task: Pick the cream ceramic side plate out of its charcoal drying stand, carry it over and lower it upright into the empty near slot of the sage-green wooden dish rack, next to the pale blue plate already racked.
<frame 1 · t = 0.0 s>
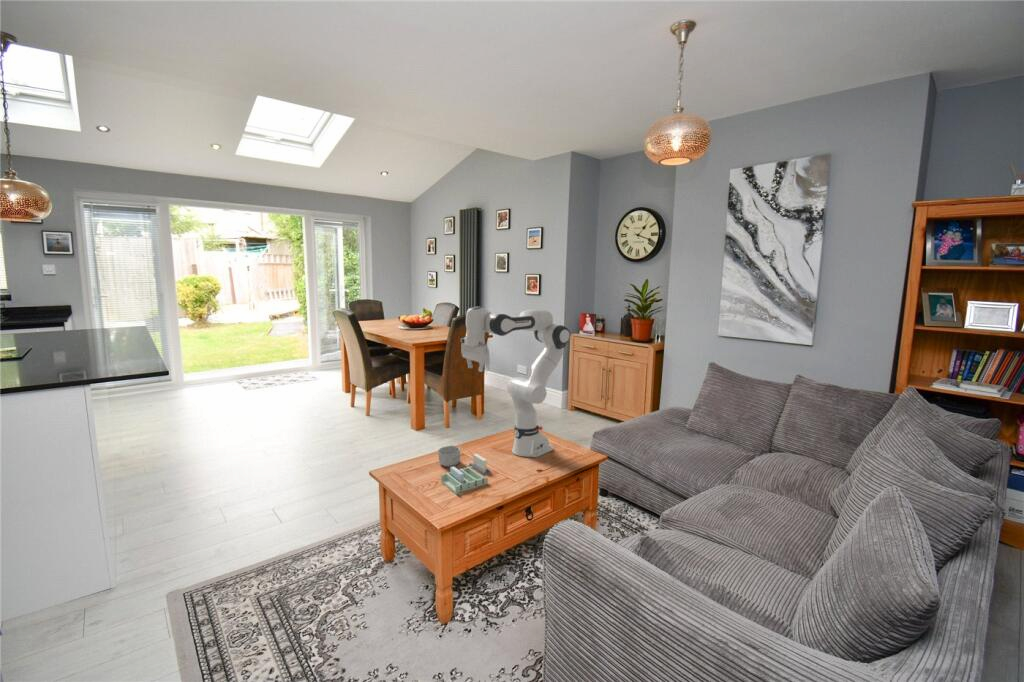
hand: (475, 369, 216), 48 cm above the table, fingers open, 8 cm apart
rack: (464, 483, 203), on the table
teacup: (450, 463, 225), on the table
plate: (479, 469, 217), point 1 cm above the table, touching stand
stand: (479, 470, 217), on the table
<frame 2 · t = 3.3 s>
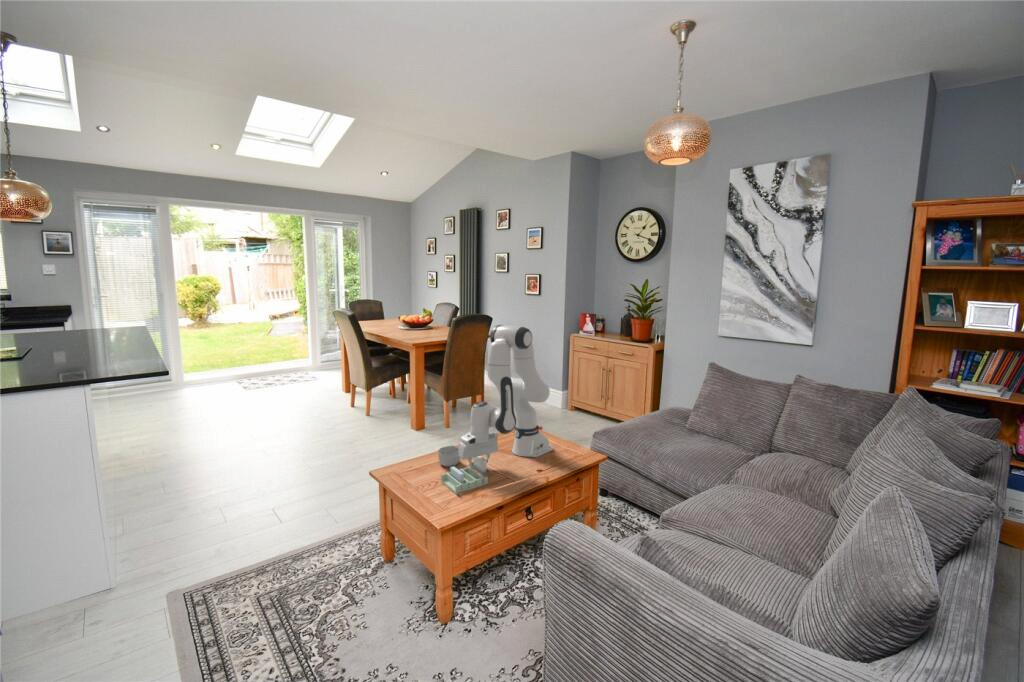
hand: (478, 464, 216), 3 cm above the table, fingers open, 7 cm apart
nothing on the table moved.
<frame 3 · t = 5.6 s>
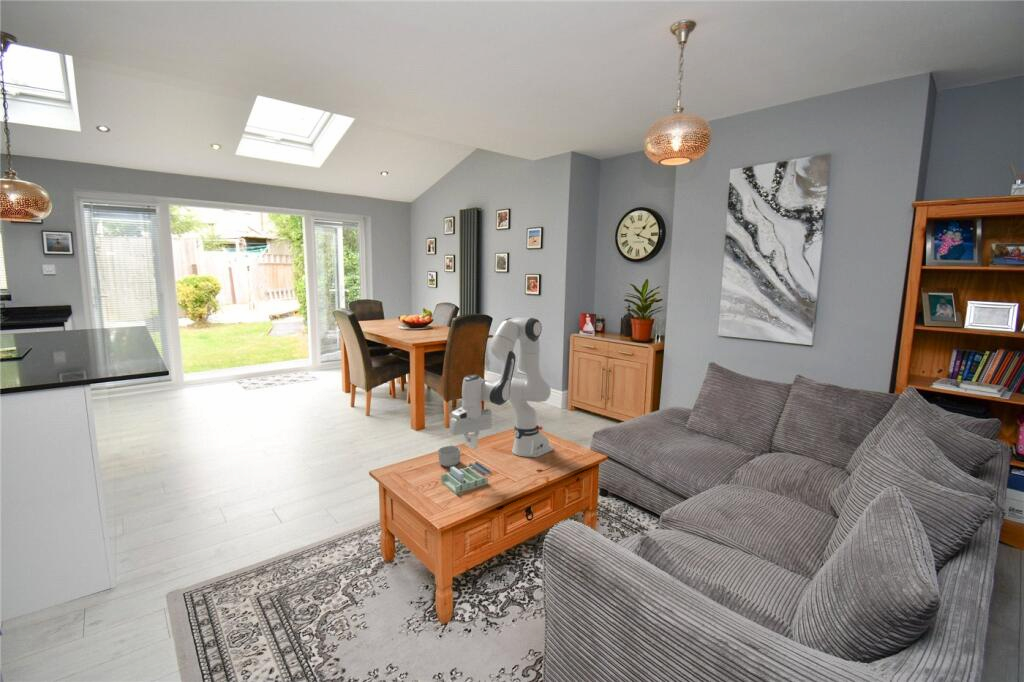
hand: (471, 441, 205), 18 cm above the table, fingers closed on plate
plate: (471, 446, 205), point 16 cm above the table, touching gripper
everything else where it was.
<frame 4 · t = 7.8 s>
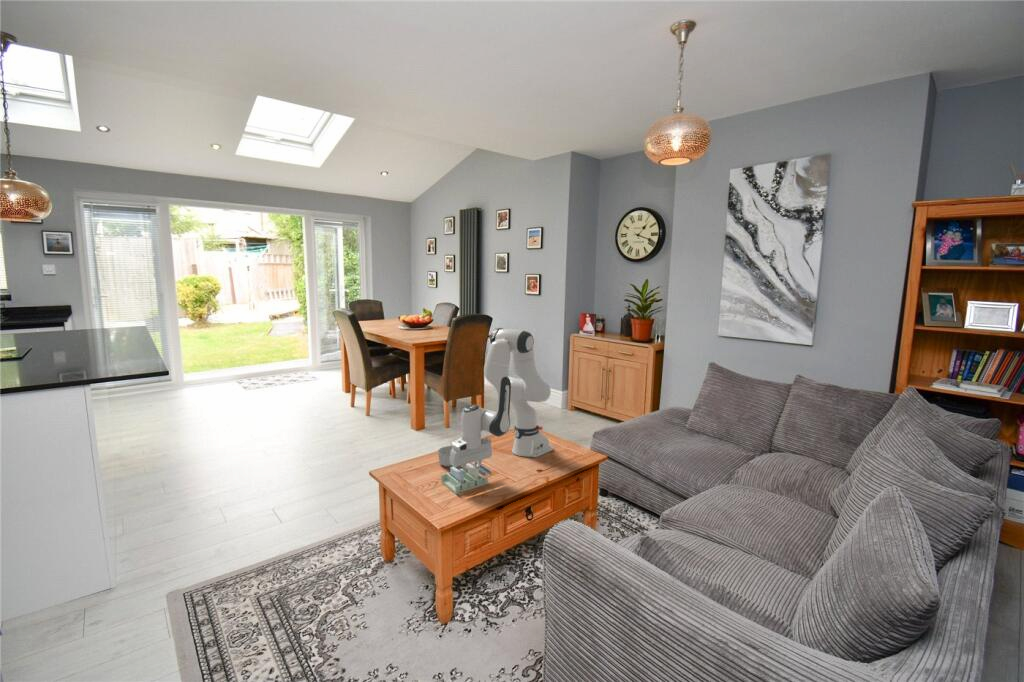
hand: (471, 470, 205), 5 cm above the table, fingers open, 5 cm apart
plate: (471, 479, 205), point 1 cm above the table, touching rack
everything else where it was.
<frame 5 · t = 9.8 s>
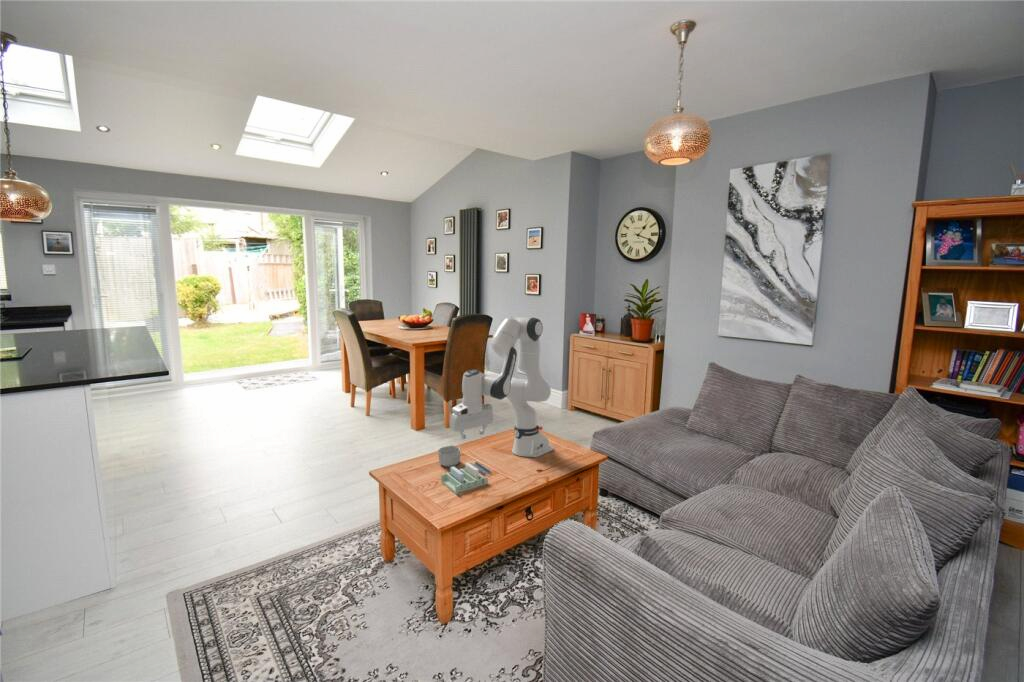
hand: (472, 436, 203), 21 cm above the table, fingers open, 8 cm apart
nothing on the table moved.
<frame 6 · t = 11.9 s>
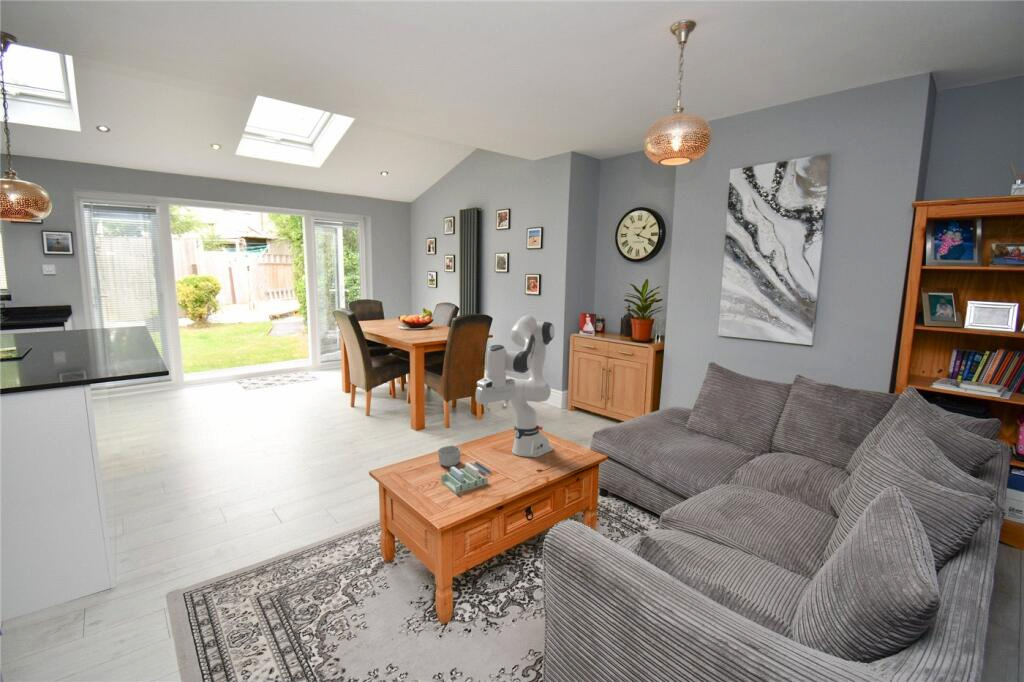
hand: (496, 410, 208), 31 cm above the table, fingers open, 8 cm apart
nothing on the table moved.
at the end: plate inside the target area on the rack (0.1 cm from its centre), point 1.2 cm above the rack's base; plate tilted 0°; the gripper is holding nothing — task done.
